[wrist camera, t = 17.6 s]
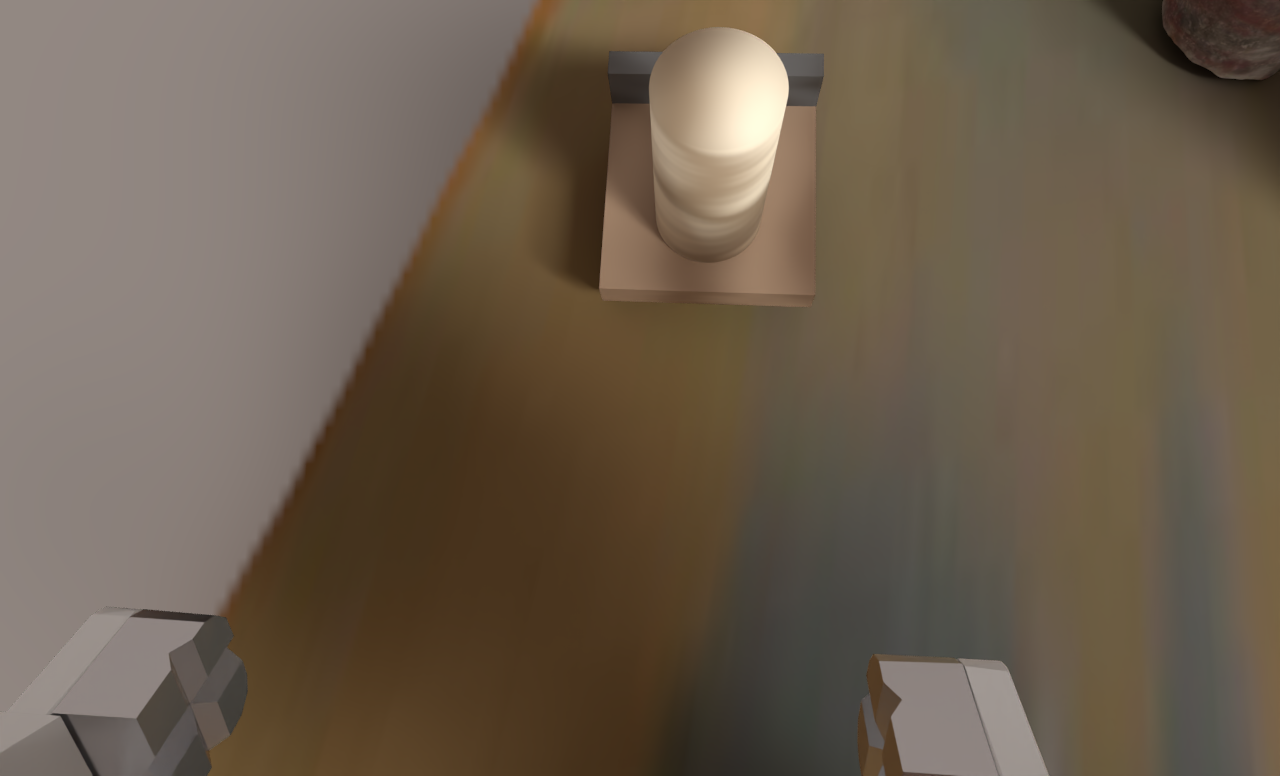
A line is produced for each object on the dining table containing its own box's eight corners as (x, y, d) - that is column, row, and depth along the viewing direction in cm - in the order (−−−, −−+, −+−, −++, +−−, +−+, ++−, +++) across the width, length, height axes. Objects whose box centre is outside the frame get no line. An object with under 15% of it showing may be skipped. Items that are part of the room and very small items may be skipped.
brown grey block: (805, 129, 45) (823, 54, 39) (803, 323, 42) (823, 275, 36) (620, 126, 46) (609, 51, 39) (607, 316, 43) (593, 268, 37)
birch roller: (761, 166, 40) (788, 27, 30) (761, 263, 39) (789, 150, 29) (657, 166, 40) (651, 27, 31) (654, 262, 39) (646, 148, 29)
